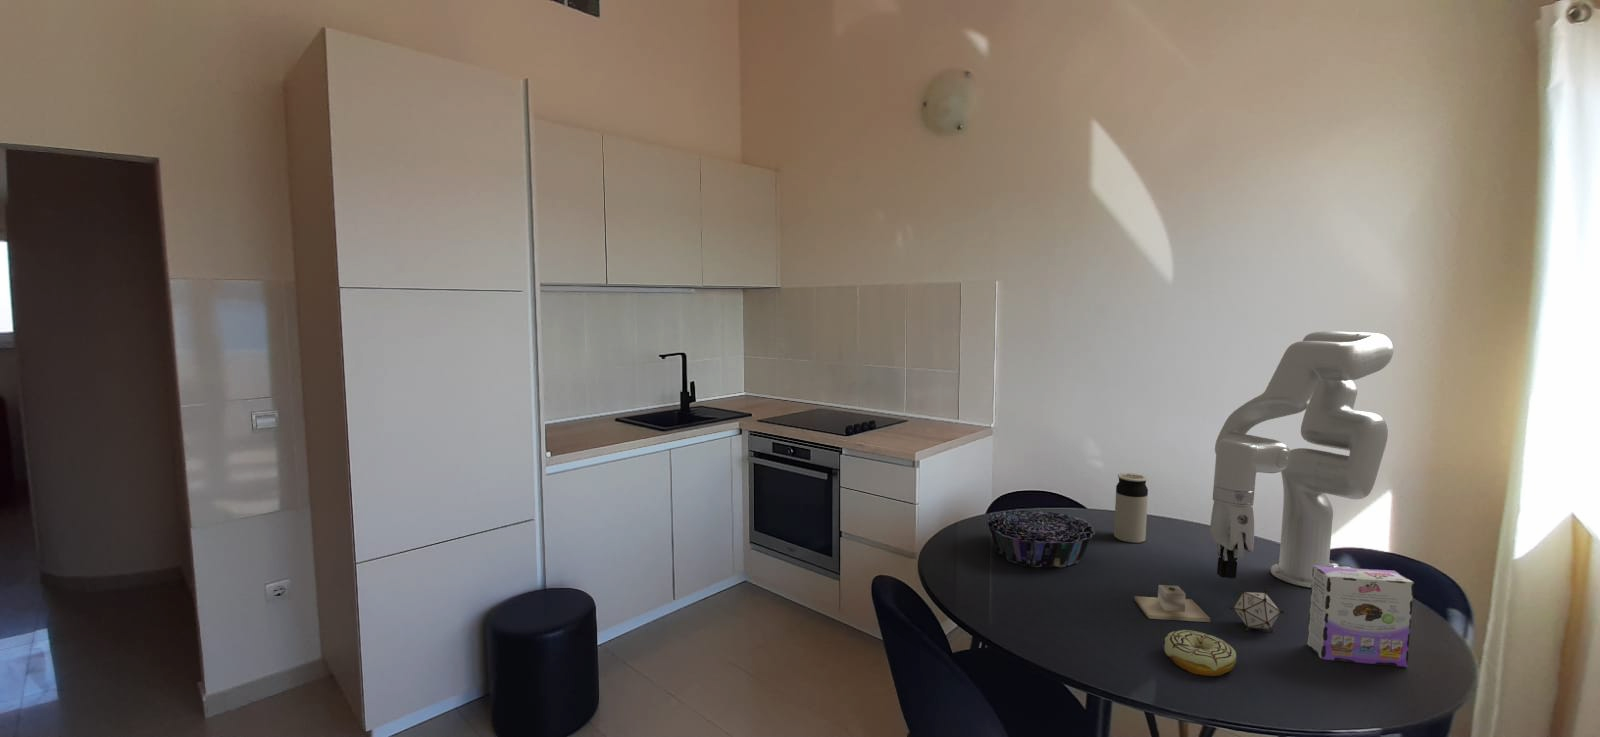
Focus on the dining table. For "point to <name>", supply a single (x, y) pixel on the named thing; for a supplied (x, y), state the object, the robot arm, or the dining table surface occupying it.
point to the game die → (1256, 610)
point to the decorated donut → (1200, 652)
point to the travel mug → (1131, 508)
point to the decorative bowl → (1040, 537)
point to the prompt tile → (1171, 615)
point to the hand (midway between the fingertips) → (1226, 576)
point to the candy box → (1360, 615)
